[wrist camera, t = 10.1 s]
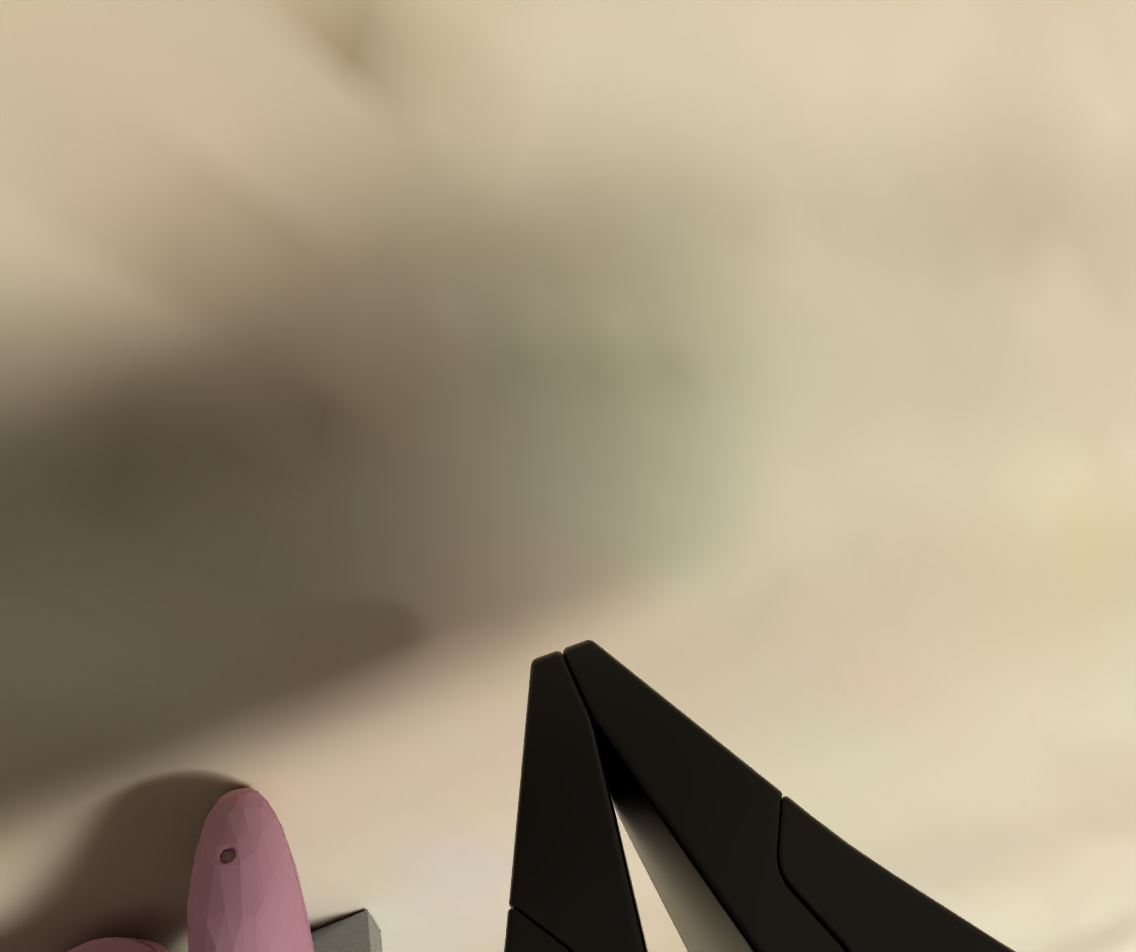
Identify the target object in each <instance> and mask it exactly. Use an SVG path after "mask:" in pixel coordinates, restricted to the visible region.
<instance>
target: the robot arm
mask: <svg viewBox="0 0 1136 952" xmlns="http://www.w3.org/2000/svg"><path fill="white" fill-rule="evenodd" d="M613 804H614V806H613ZM614 807H615V809H616V811H617V813H618V815H619V818H620V820H621V822H622V824H623V826H624V828H625V830H626V832H627V834H628V836H629V838H630V840H631V842H632V843H633V845H634V847H635V849H636V851H637V853H638V855H639V857H640V859H641V861H642V863H643V865H644V867H645V869H646V871H647V873H648V875H649V877H650V879H651V881H652V883H653V884H654V886H655V888H656V890H657V892H658V894H659V896H660V898H661V900H662V902H663V904H664V906H665V908H666V910H667V912H668V914H669V916H670V918H671V920H672V922H673V923H674V925H675V927H676V929H677V931H678V933H679V935H680V937H681V939H682V941H683V943H684V945H685V947H686V949H687V951H688V952H1015V951H1014V950H1012V949H1010V948H1009V947H1007V946H1006V945H1004V944H1002V943H1001V942H999V941H997V940H996V939H994V938H993V937H991V936H990V935H988V934H986V933H985V932H983V931H982V930H980V929H979V928H977V927H976V926H974V925H972V924H971V923H969V922H968V921H966V920H965V919H963V918H961V917H960V916H958V915H957V914H955V913H954V912H952V911H951V910H949V909H947V908H946V907H944V906H943V905H941V904H940V903H938V902H936V901H935V900H933V899H932V898H930V897H929V896H927V895H925V894H924V893H922V892H921V891H919V890H918V889H916V888H915V887H913V886H911V885H910V884H908V883H907V882H905V881H904V880H902V879H900V878H899V877H897V876H896V875H894V874H893V873H891V872H890V871H888V870H887V869H885V868H884V867H882V866H881V865H879V864H878V863H876V862H875V861H873V860H872V859H870V858H869V857H867V856H866V855H864V854H863V853H861V852H860V851H858V850H857V849H855V848H854V847H853V846H851V845H850V844H848V843H847V842H846V841H844V840H843V839H842V838H840V837H839V836H838V835H836V834H835V833H834V832H832V831H831V830H830V829H828V828H827V827H826V826H824V825H823V824H822V823H820V822H819V821H818V820H816V819H815V818H814V817H812V816H811V815H810V814H809V813H807V812H806V811H805V810H804V809H802V808H801V807H800V806H799V805H798V804H796V803H795V802H794V801H793V800H791V799H790V798H789V797H787V796H785V797H783V798H782V792H781V791H780V790H778V789H777V788H776V787H775V786H773V785H772V784H771V783H770V782H768V781H767V780H766V779H765V778H763V777H762V776H761V775H760V774H758V773H757V772H756V771H755V770H753V769H752V768H751V767H750V766H748V765H747V764H746V763H745V762H743V761H742V760H741V759H740V758H738V757H737V756H736V755H735V754H733V753H732V752H731V751H730V750H729V749H727V748H726V747H725V746H724V745H722V744H721V743H720V742H719V741H717V740H716V739H715V738H714V737H712V736H711V735H710V734H709V733H707V732H706V731H705V730H704V729H702V728H701V727H700V726H699V725H697V724H696V723H695V722H694V721H692V720H691V719H690V718H689V717H687V716H686V715H685V714H684V713H682V712H681V711H680V710H679V709H677V708H676V707H675V706H674V705H672V704H671V703H670V702H669V701H667V700H666V699H665V698H664V697H662V696H661V695H660V694H659V693H657V692H656V691H655V690H654V689H652V688H651V687H650V686H649V685H648V684H646V683H645V682H644V681H643V680H641V679H640V678H639V677H638V676H636V675H635V674H634V673H633V672H631V671H630V670H629V669H628V668H626V667H625V666H624V665H623V664H621V663H620V662H619V661H618V660H616V659H615V658H614V657H613V656H611V655H610V654H609V653H608V652H606V651H605V650H604V649H603V648H601V647H600V646H599V645H598V644H596V643H595V642H593V641H591V640H586V641H583V642H580V643H578V644H575V645H572V646H569V647H567V648H565V649H564V651H563V654H562V653H561V652H559V651H555V652H553V653H550V654H547V655H544V656H541V657H539V658H536V659H534V660H533V661H532V664H531V670H530V681H529V692H528V703H527V714H526V725H525V736H524V747H523V758H522V769H521V780H520V790H519V801H518V812H517V823H516V834H515V845H514V856H513V867H512V878H511V889H510V900H509V905H510V907H511V909H509V911H508V917H507V928H506V939H505V948H504V952H648V949H647V945H646V941H645V936H644V932H643V928H642V924H641V919H640V915H639V911H638V907H637V903H636V898H635V894H634V890H633V886H632V881H631V877H630V873H629V869H628V865H627V860H626V856H625V852H624V848H623V843H622V839H621V835H620V831H619V827H618V822H617V818H616V814H615V810H614Z"/></svg>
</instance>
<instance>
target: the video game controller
mask: <svg viewBox="0 0 1136 952" xmlns="http://www.w3.org/2000/svg"><path fill="white" fill-rule="evenodd" d="M187 922H188V946H189V952H314V947H313V941H312V936H311V931H310V925H309V920H308V916H307V911H306V907H305V903H304V898H303V894H302V890H301V886H300V881H299V877H298V873H297V869H296V865H295V862H294V859H293V856H292V854H291V851H290V848H289V845H288V842H287V840H286V837H285V834H284V831H283V828H282V826H281V824H280V822H279V820H278V818H277V816H276V814H275V812H274V811H273V809H272V808H271V806H270V805H269V803H268V802H267V800H266V799H265V798H264V797H263V796H261V795H260V794H259V793H258V792H257V791H255V790H252V789H249V788H242V789H234V790H232V791H229V792H227V793H226V794H224V795H222V796H221V797H220V798H219V799H218V800H217V801H216V803H215V804H214V806H213V807H212V809H211V810H210V812H209V813H208V815H207V817H206V820H205V823H204V826H203V829H202V832H201V835H200V838H199V842H198V845H197V848H196V851H195V856H194V862H193V869H192V875H191V881H190V887H189V894H188V900H187ZM67 952H170V951H169V950H168V949H167V948H166V947H165V946H163V945H161V944H158V943H156V942H154V941H149V940H142V939H134V938H122V937H110V938H101V939H96V940H92V941H88V942H86V943H84V944H81V945H79V946H77V947H74V948H72V949H70V950H69V951H67Z"/></svg>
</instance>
